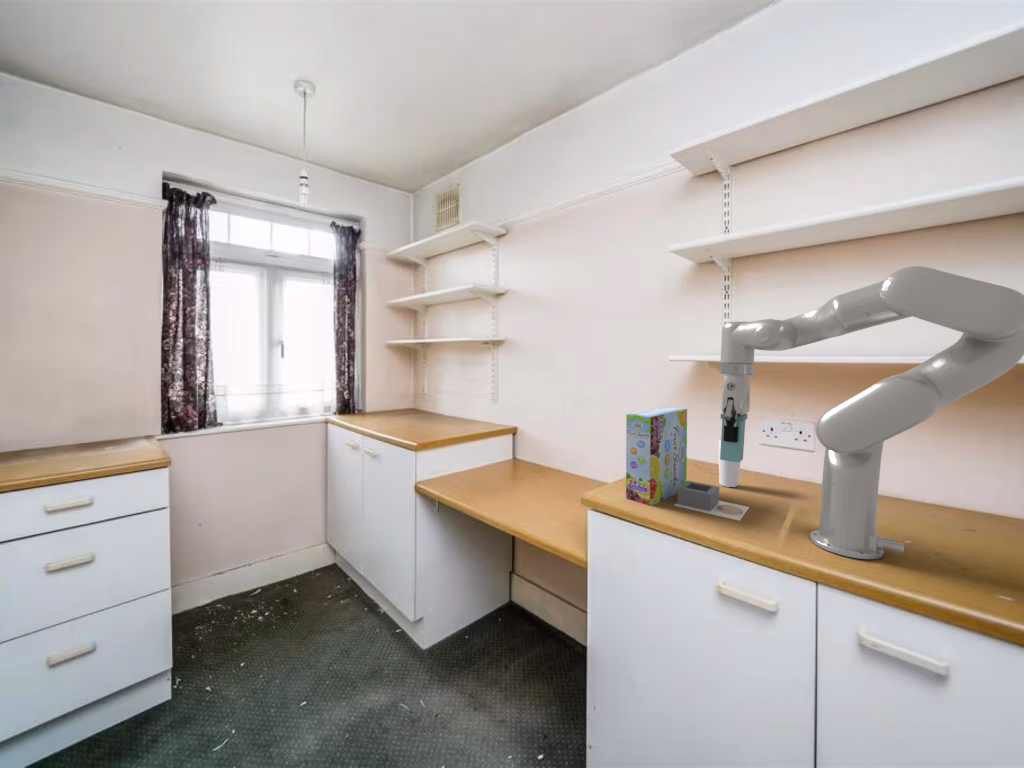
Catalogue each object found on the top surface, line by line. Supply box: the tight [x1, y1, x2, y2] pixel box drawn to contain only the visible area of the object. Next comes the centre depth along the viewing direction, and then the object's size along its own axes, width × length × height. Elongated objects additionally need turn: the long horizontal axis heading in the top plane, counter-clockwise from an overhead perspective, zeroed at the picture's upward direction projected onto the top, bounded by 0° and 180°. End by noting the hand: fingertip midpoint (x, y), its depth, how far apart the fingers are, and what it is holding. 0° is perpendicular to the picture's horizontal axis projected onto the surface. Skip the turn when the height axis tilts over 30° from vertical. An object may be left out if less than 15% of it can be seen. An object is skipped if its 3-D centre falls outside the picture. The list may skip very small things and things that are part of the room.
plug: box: [720, 412, 748, 463], centre depth 109 cm, size 5×5×12 cm
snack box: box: [625, 406, 688, 506], centre depth 123 cm, size 22×9×26 cm, turn 132°
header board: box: [674, 480, 750, 522], centre depth 113 cm, size 16×12×6 cm
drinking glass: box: [717, 437, 741, 488], centre depth 134 cm, size 7×7×15 cm
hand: (732, 439), depth 109 cm, fingers closed on plug, 4 cm apart
